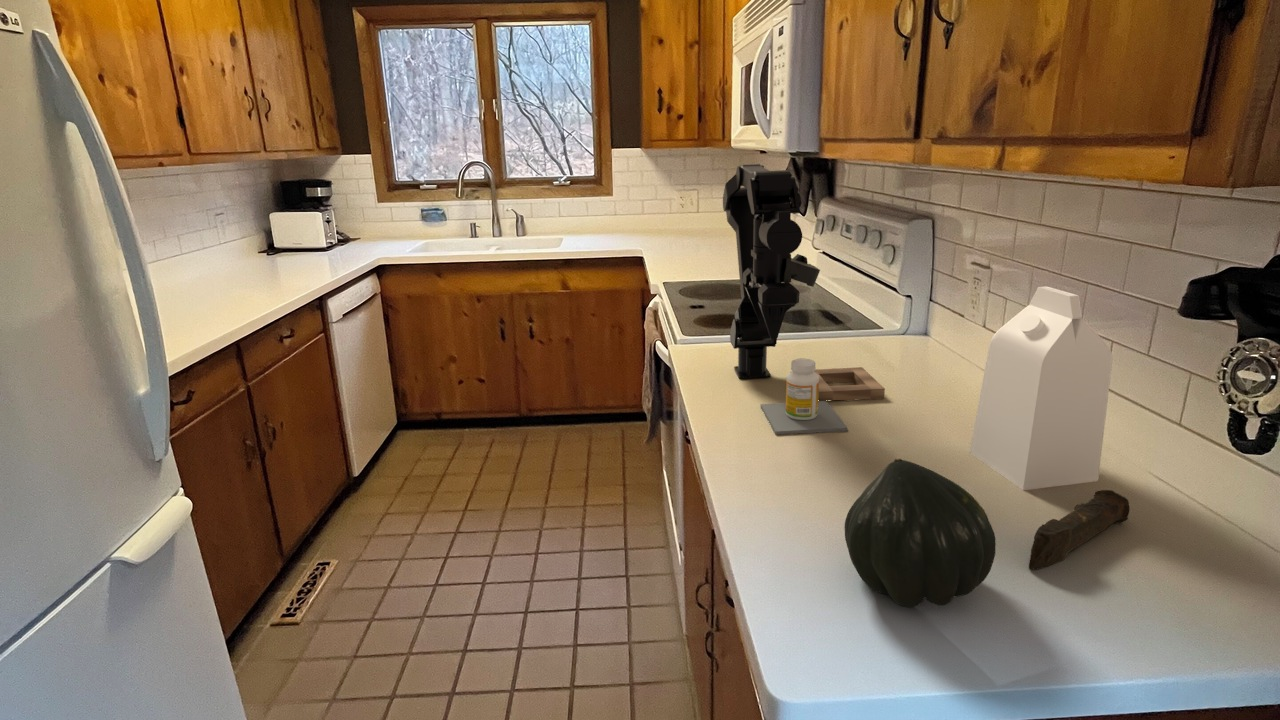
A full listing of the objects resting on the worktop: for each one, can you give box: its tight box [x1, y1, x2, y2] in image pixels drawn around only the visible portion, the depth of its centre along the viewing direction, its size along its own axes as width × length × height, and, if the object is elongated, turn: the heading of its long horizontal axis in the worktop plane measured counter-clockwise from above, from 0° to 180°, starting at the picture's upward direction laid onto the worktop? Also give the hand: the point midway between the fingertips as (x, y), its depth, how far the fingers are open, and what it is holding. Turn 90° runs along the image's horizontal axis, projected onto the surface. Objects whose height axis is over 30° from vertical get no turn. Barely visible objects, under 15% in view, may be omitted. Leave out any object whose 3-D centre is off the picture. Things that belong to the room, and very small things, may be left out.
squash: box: [844, 457, 997, 608], centre depth 75 cm, size 14×15×15 cm
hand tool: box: [1028, 489, 1131, 570], centre depth 82 cm, size 19×4×5 cm, turn 121°
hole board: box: [814, 366, 886, 401], centre depth 133 cm, size 12×12×2 cm
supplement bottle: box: [785, 357, 819, 420], centre depth 119 cm, size 5×5×10 cm
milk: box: [969, 285, 1113, 491], centre depth 97 cm, size 12×12×26 cm
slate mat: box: [760, 401, 849, 436], centre depth 120 cm, size 12×12×1 cm
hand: (768, 331), depth 126 cm, fingers open, 9 cm apart
